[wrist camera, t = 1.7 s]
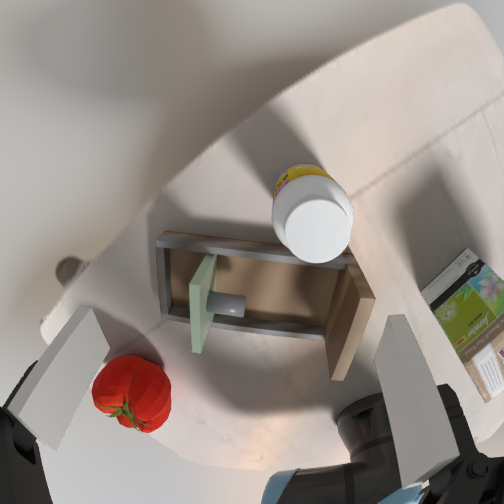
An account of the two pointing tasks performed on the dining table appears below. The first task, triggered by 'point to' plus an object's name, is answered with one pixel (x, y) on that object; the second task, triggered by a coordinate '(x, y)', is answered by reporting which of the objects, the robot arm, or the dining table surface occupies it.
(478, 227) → the dining table surface
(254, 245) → the lane
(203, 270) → the pusher
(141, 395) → the tomato
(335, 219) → the supplement bottle
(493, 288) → the tea box
